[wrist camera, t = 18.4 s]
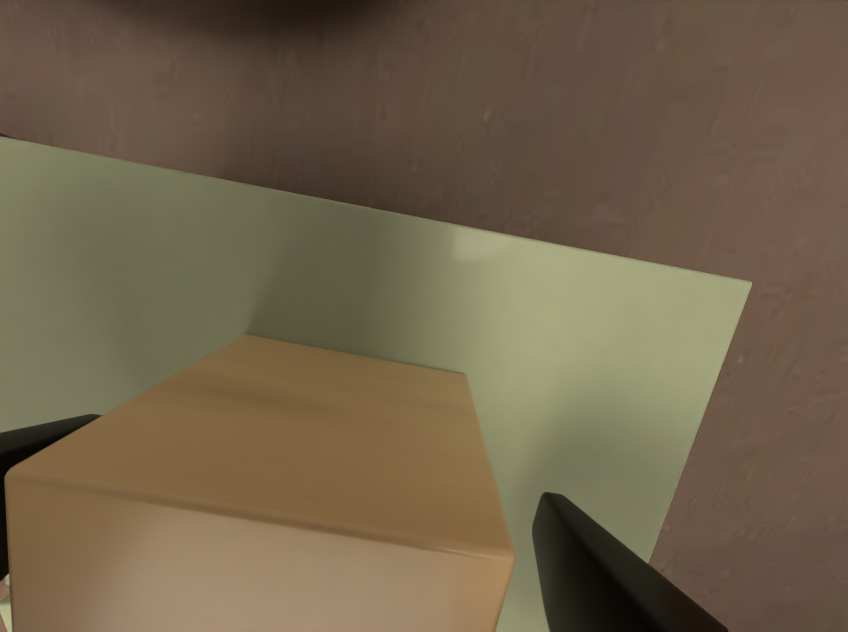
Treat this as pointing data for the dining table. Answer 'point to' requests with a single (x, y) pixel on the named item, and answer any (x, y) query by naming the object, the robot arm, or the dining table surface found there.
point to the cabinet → (364, 324)
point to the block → (266, 504)
